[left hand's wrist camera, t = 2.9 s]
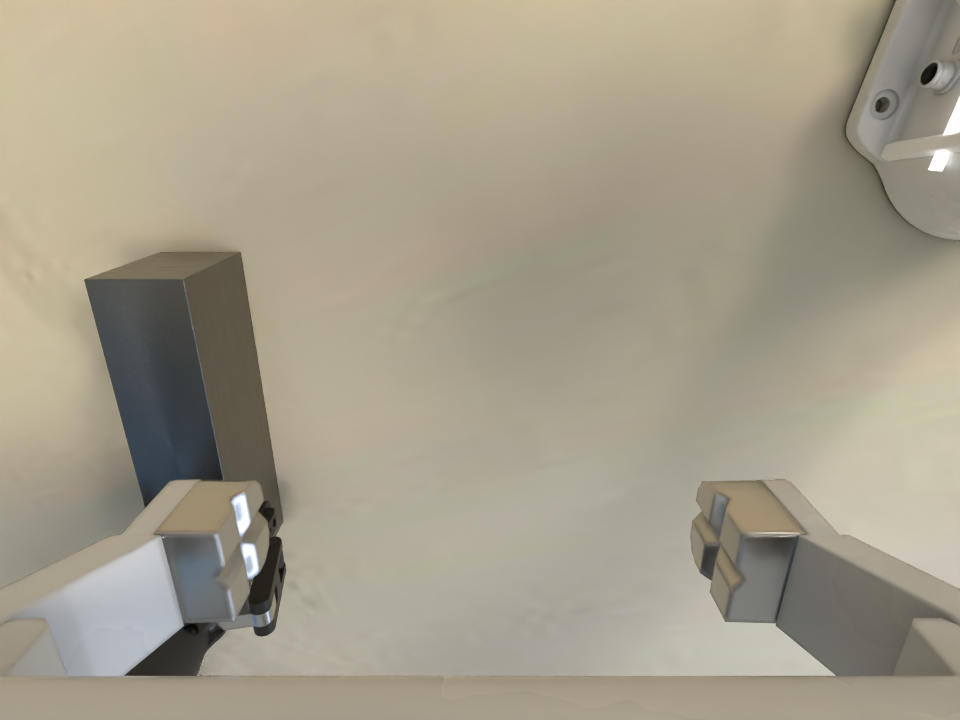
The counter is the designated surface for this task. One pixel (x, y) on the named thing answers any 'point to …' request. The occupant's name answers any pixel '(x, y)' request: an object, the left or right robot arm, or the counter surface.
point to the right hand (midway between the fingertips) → (226, 511)
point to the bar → (186, 370)
